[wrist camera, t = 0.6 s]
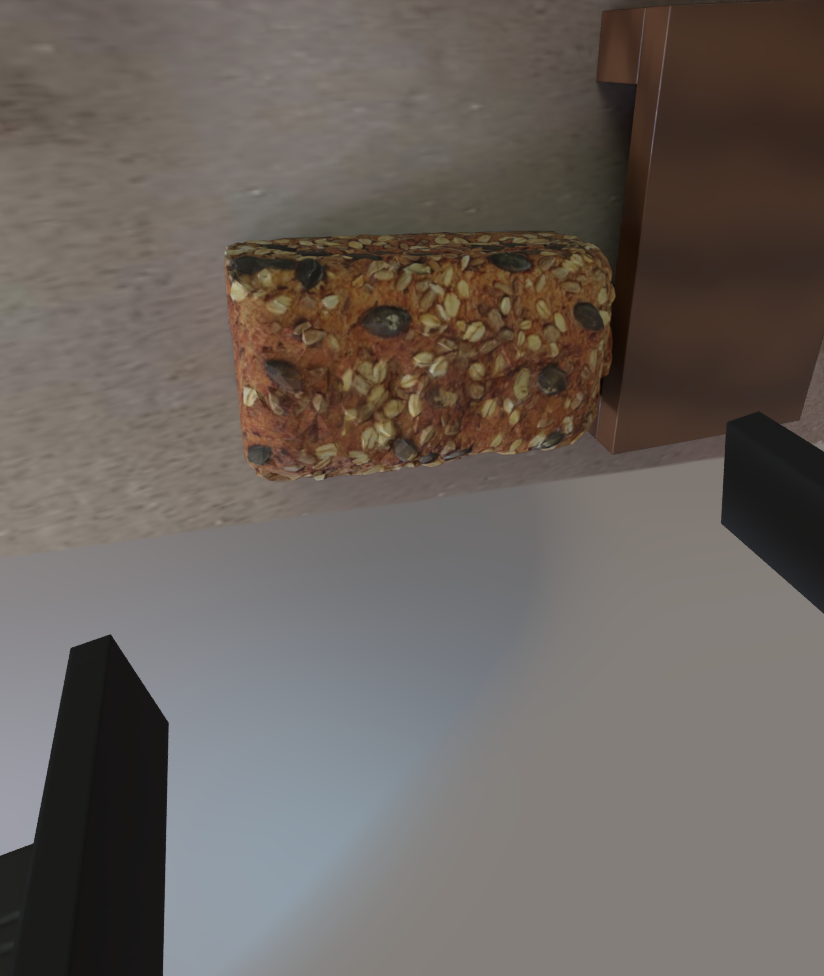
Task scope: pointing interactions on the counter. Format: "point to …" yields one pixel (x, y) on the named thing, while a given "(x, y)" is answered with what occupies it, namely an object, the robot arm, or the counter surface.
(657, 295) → the shelf
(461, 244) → the bread
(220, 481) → the counter surface
